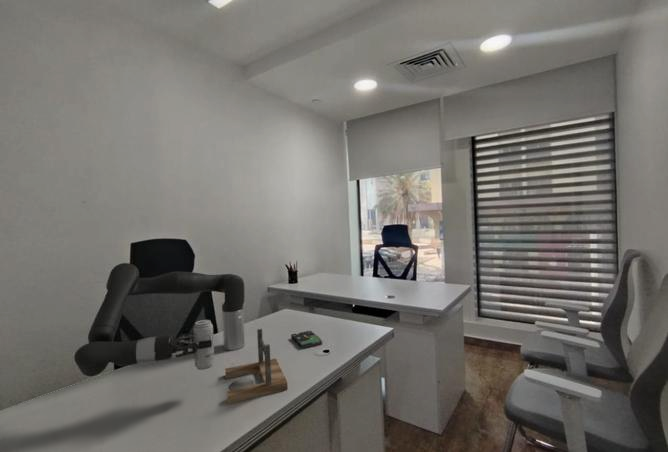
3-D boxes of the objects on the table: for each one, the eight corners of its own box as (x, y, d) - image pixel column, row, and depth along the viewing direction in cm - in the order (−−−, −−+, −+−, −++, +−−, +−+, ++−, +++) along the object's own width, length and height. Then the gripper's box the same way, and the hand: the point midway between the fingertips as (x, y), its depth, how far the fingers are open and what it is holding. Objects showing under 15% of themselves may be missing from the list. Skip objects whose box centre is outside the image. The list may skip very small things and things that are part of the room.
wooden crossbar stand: (225, 375, 116) (223, 334, 116) (276, 364, 123) (274, 325, 123) (228, 403, 97) (225, 354, 97) (287, 389, 104) (285, 343, 104)
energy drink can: (210, 370, 101) (209, 324, 101) (191, 371, 101) (190, 325, 100) (216, 361, 107) (215, 318, 107) (199, 362, 107) (197, 319, 106)
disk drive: (290, 340, 150) (301, 350, 136) (290, 334, 150) (301, 344, 136) (310, 335, 154) (323, 345, 141) (310, 330, 154) (322, 339, 141)
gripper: (159, 352, 105) (212, 343, 111) (151, 370, 92) (212, 359, 98) (158, 330, 105) (211, 322, 111) (150, 345, 92) (211, 336, 98)
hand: (211, 340), depth 105 cm, fingers closed on energy drink can, 6 cm apart
